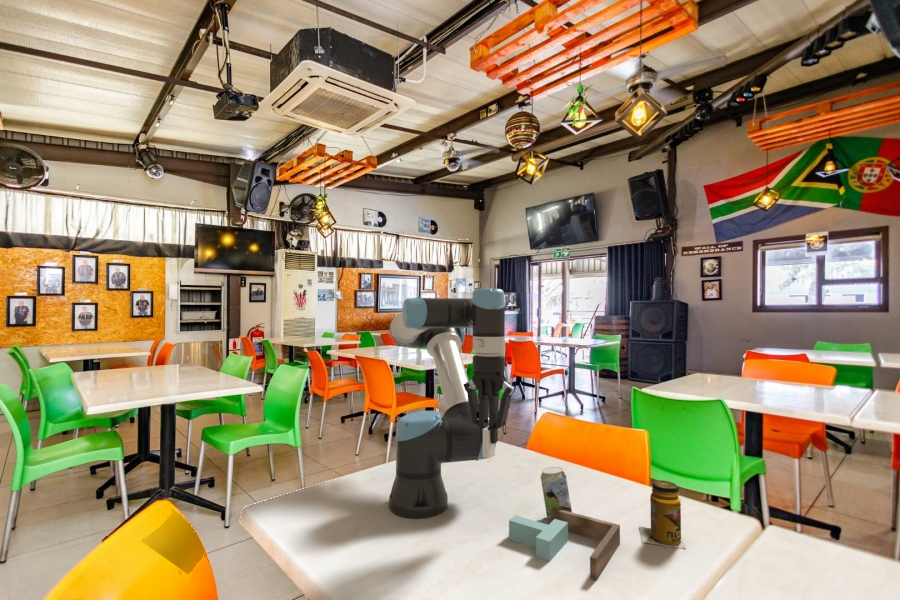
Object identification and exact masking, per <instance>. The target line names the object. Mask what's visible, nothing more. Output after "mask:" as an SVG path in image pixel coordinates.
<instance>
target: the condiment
mask: <svg viewBox="0 0 900 600" xmlns="http://www.w3.org/2000/svg"><path fill="white" fill-rule="evenodd" d="M651 486H652V488H651V494H650V499H649V500H650V501H649V502H650V527H646V526H638V529H639V533H640V537H641V541H642V543H643V544H650V545H651V544H652V545H659V546H663V547H667V548H668V547H670V548H675V549H677V548H678V549H682V550H683V549H686V546H685V543H684V540H683V538H682V514H681V513H682V511H681V509H682V508H681V507H682V506H681V498H680V497H679V496H680V495H679V491H680V490H679V486H678V485H677V484H676V483H674V482H672V481H669V480H668V481H667V480H662V479H661V480H655V481H653V482H652V483H651Z"/></svg>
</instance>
